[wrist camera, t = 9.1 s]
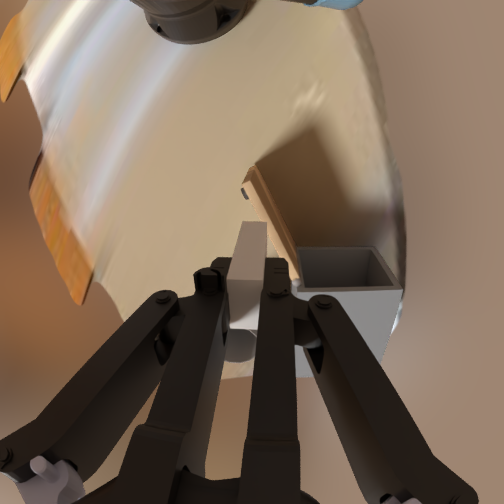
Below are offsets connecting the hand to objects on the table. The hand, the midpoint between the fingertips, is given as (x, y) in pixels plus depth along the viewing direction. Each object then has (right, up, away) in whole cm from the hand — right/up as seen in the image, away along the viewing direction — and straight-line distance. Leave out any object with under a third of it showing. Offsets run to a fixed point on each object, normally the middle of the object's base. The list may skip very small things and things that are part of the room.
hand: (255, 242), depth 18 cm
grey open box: (+13, -7, +31) cm, 35 cm away
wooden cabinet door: (+3, +6, +25) cm, 26 cm away
